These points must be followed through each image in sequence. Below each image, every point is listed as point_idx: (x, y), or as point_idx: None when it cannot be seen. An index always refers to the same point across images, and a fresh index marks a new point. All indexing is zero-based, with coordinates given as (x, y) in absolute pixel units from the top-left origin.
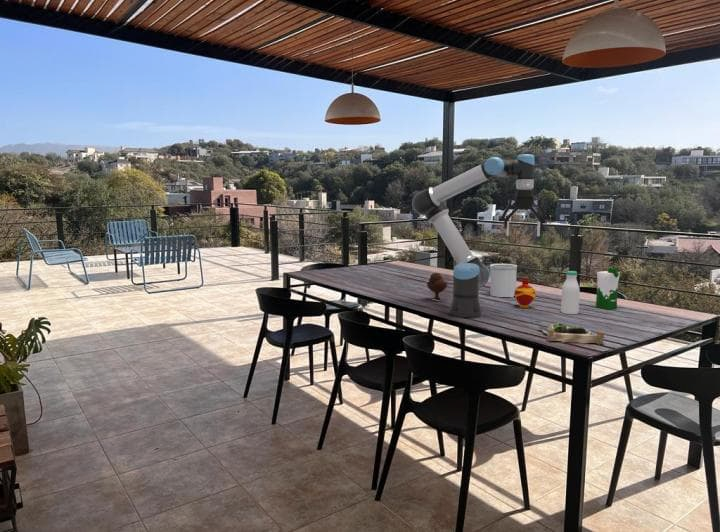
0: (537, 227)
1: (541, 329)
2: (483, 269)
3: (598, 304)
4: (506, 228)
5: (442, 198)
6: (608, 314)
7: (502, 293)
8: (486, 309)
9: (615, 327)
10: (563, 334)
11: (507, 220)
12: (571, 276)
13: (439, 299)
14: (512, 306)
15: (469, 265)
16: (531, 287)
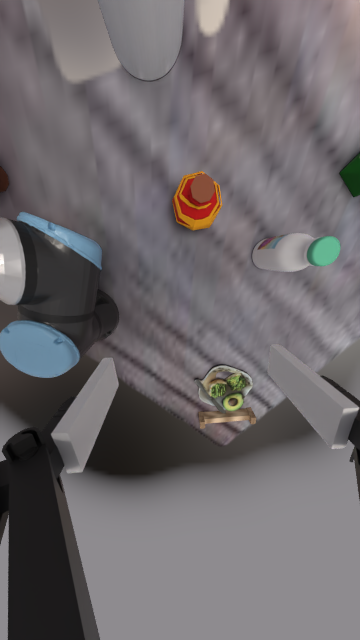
0: (302, 384)
1: (197, 385)
2: (77, 289)
3: (348, 176)
4: (84, 387)
5: None
6: None
7: (144, 69)
8: (121, 261)
9: (296, 339)
10: (214, 422)
11: (60, 484)
12: (311, 265)
13: (1, 184)
14: (169, 213)
15: (39, 352)
16: (213, 203)
